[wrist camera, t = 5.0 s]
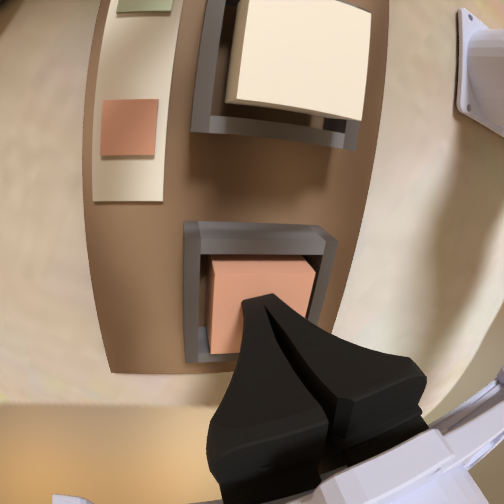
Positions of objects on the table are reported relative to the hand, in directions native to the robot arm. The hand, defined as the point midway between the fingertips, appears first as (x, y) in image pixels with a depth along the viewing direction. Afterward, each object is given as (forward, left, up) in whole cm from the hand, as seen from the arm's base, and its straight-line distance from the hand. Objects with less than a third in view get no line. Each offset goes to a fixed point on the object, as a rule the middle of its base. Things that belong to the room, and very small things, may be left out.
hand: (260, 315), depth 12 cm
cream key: (0, -10, -1) cm, 10 cm away
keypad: (+1, -10, -3) cm, 11 cm away
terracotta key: (0, 0, -2) cm, 2 cm away
